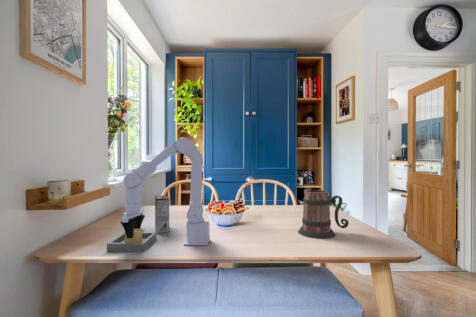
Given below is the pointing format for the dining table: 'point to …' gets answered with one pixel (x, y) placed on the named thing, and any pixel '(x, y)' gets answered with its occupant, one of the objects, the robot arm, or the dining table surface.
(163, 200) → the coffee box
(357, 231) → the dining table surface
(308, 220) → the tankard
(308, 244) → the dining table surface
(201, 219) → the robot arm
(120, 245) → the tray
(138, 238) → the mustard block
